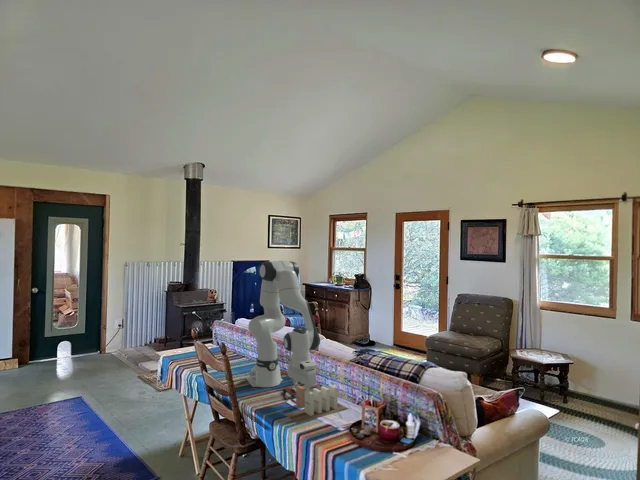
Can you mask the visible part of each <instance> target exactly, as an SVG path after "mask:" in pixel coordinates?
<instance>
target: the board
mask: <svg viewBox="0 0 640 480" xmlns="http://www.w3.org/2000/svg"><path fill="white" fill-rule="evenodd" d="M346 410H349V408H348V407H346V406H344V405H343V404H340V403H339V402H337V409H333V408H331V407H330V411H325V410H323V409H322V413H317V412H315V411H314V415H312V416H310V415H308V414H307V413H305V408H301V409H299V410H295V411H291V412H287V413H284V414H283V415H284V416H285V417H287V418H288V419H290V420H291V421H293V422H295V424H297V425H298V424H301V423H305V422H308V421H311V420H315V419H319V418H322V417H326V416H329V415H333V414H336V413H339V412H343V411H346Z"/></svg>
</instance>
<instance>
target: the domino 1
mask: <svg viewBox="0 0 640 480" xmlns="http://www.w3.org/2000/svg"><path fill="white" fill-rule="evenodd" d="M305 389H306V387H303V386H301V385H299V386H296V398H295V401H296V406H297V407H299V408H301V409H305V391H304V390H305Z"/></svg>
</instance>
